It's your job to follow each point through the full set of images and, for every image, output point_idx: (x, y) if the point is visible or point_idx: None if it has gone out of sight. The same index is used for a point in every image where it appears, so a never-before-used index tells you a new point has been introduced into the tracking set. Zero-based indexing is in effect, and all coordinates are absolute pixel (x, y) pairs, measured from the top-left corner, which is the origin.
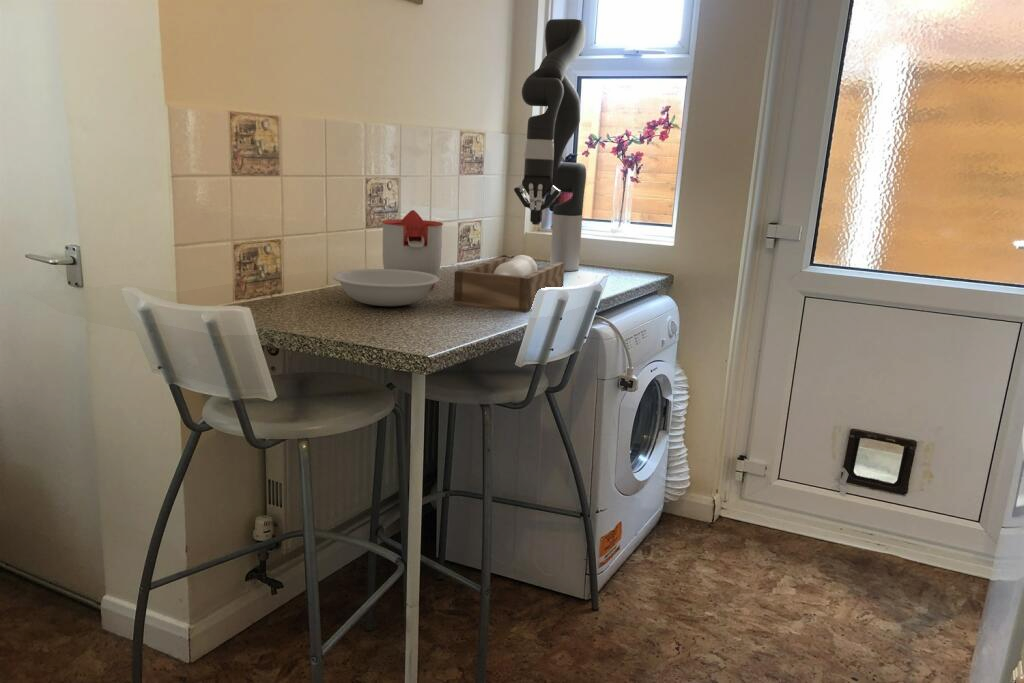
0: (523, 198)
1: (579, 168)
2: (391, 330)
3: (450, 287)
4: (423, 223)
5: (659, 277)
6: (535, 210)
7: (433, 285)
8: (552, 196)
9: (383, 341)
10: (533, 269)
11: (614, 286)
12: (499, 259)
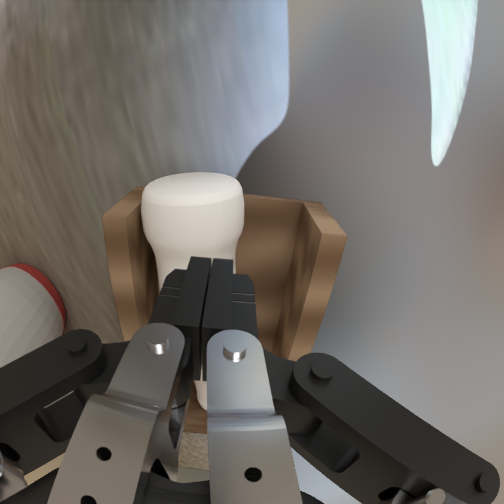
0: (65, 444)
1: None
2: (179, 452)
3: (70, 267)
4: None
5: None
6: (197, 371)
7: (62, 304)
8: (378, 494)
9: (192, 464)
10: (237, 240)
11: (433, 61)
12: (126, 275)
